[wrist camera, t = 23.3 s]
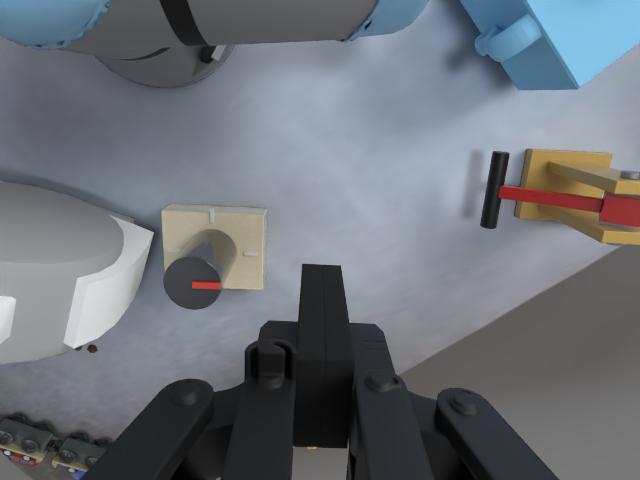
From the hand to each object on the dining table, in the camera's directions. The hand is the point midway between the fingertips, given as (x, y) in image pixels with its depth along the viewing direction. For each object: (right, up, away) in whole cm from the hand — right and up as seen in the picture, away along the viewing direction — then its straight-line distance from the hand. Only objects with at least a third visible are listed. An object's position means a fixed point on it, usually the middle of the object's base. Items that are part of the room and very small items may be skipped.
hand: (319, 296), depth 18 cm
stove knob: (-11, +1, +27) cm, 29 cm away
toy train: (-34, -20, +35) cm, 52 cm away
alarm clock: (-25, +4, +29) cm, 39 cm away
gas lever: (+21, +6, +22) cm, 31 cm away
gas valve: (+25, +8, +29) cm, 39 cm away
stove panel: (-11, +2, +30) cm, 32 cm away
